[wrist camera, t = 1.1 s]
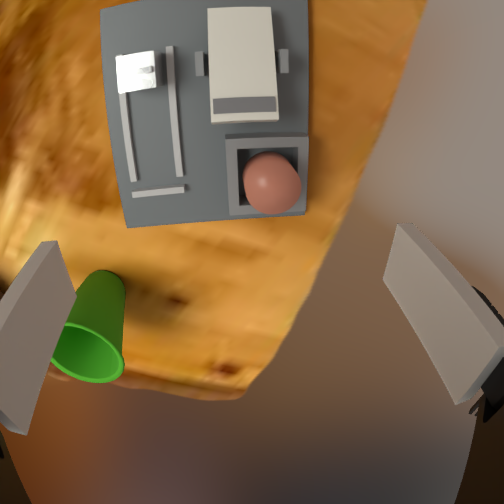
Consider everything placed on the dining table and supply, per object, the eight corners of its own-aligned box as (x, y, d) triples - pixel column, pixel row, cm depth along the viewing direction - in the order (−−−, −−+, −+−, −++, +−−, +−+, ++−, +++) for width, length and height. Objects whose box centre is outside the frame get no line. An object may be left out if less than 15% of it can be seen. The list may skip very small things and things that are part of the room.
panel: (103, 11, 20) (86, 3, 16) (304, -5, 21) (318, -16, 17) (129, 223, 31) (118, 244, 28) (302, 210, 33) (313, 230, 29)
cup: (104, 241, 32) (70, 308, 23) (156, 295, 37) (143, 368, 27) (59, 278, 34) (25, 342, 25) (109, 323, 39) (89, 391, 29)
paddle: (207, 14, 20) (207, 7, 19) (268, 13, 21) (271, 6, 19) (211, 124, 23) (211, 122, 22) (276, 121, 23) (279, 119, 22)
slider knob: (127, 58, 22) (114, 57, 18) (161, 52, 22) (152, 50, 19) (130, 90, 23) (117, 93, 20) (163, 85, 24) (155, 87, 20)
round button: (241, 152, 26) (244, 163, 23) (292, 150, 26) (302, 161, 23) (243, 199, 28) (246, 216, 26) (291, 197, 29) (300, 212, 26)
